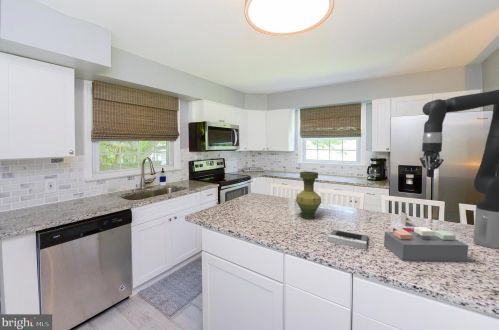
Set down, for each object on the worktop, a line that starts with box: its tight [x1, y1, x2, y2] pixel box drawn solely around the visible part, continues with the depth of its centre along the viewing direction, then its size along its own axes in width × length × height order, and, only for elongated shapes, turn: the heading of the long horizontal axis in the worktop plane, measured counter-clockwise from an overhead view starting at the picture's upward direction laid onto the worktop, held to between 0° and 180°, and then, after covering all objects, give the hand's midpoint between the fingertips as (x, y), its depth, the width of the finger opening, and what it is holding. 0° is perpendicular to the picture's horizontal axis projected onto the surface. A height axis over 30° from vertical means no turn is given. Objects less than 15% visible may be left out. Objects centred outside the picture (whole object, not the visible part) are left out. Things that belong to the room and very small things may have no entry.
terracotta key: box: [394, 230, 412, 240], centre depth 101 cm, size 5×5×6 cm
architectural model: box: [400, 211, 414, 227], centre depth 137 cm, size 3×7×7 cm, turn 170°
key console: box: [383, 231, 469, 263], centre depth 101 cm, size 26×14×7 cm, turn 88°
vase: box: [295, 171, 322, 221], centre depth 151 cm, size 16×16×30 cm
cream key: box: [414, 226, 435, 240], centre depth 101 cm, size 5×5×6 cm
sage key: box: [434, 230, 456, 240], centre depth 101 cm, size 5×5×6 cm
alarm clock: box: [327, 228, 369, 250], centre depth 117 cm, size 17×5×16 cm
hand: (429, 177), depth 113 cm, fingers closed
